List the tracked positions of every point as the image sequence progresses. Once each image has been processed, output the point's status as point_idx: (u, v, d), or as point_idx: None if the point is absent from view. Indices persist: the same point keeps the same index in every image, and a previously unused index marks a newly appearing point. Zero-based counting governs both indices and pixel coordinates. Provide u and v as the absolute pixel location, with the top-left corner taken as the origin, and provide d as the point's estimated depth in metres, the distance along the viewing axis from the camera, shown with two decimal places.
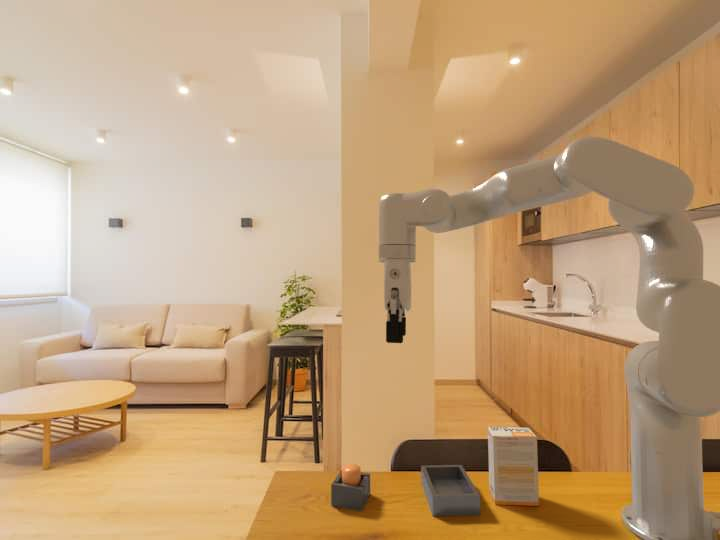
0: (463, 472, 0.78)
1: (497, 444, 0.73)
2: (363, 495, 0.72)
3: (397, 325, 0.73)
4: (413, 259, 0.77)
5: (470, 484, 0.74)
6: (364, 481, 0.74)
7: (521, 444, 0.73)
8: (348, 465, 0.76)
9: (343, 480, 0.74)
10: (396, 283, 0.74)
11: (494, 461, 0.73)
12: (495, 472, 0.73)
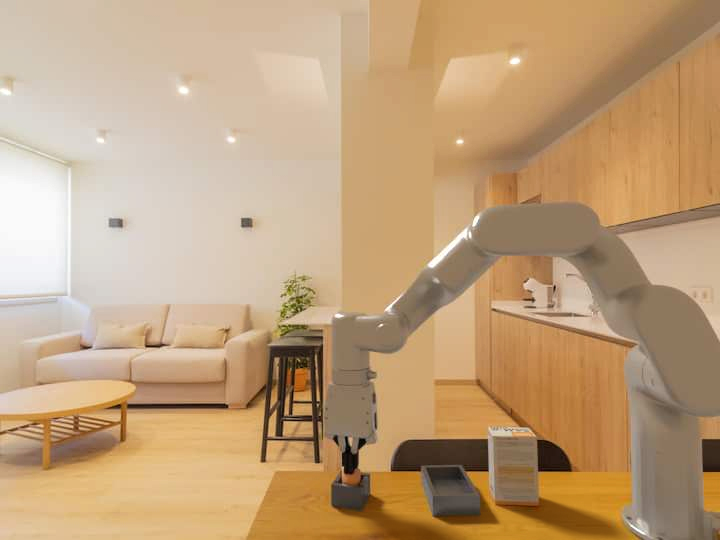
0: (463, 472, 0.78)
1: (497, 444, 0.73)
2: (363, 495, 0.72)
3: (358, 452, 0.75)
4: None
5: (470, 484, 0.74)
6: (364, 481, 0.74)
7: (521, 444, 0.73)
8: None
9: (343, 483, 0.74)
10: (375, 407, 0.74)
11: (494, 461, 0.73)
12: (495, 472, 0.73)
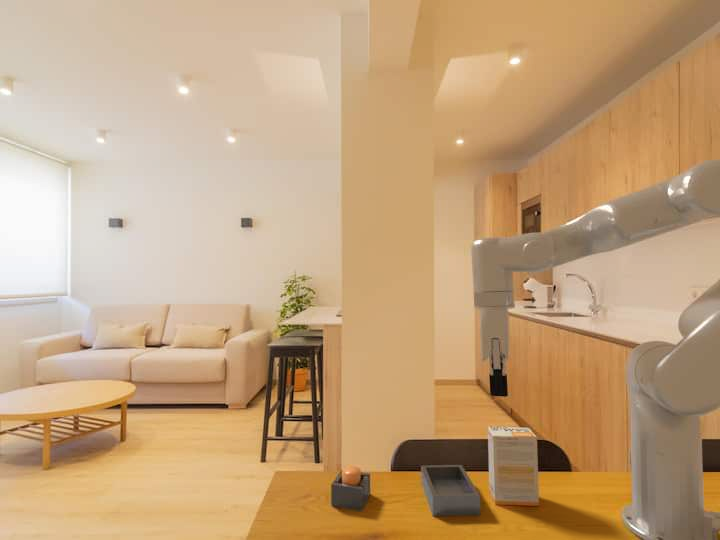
0: (463, 472, 0.78)
1: (497, 444, 0.73)
2: (363, 495, 0.72)
3: None
4: None
5: (470, 484, 0.74)
6: (364, 481, 0.74)
7: (521, 444, 0.73)
8: (348, 467, 0.76)
9: (343, 483, 0.74)
10: None
11: (494, 461, 0.73)
12: (495, 472, 0.73)
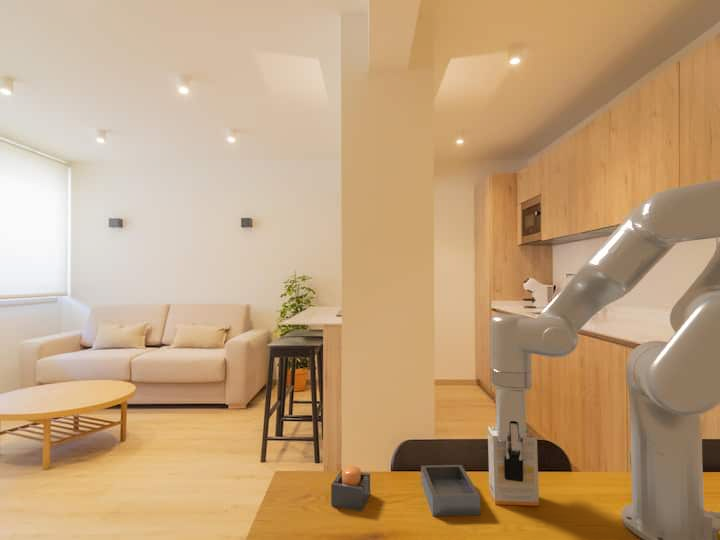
0: (463, 472, 0.78)
1: (497, 444, 0.73)
2: (363, 495, 0.72)
3: None
4: None
5: (470, 484, 0.74)
6: (364, 481, 0.74)
7: None
8: (348, 467, 0.76)
9: (343, 483, 0.74)
10: None
11: (494, 461, 0.73)
12: (495, 472, 0.73)
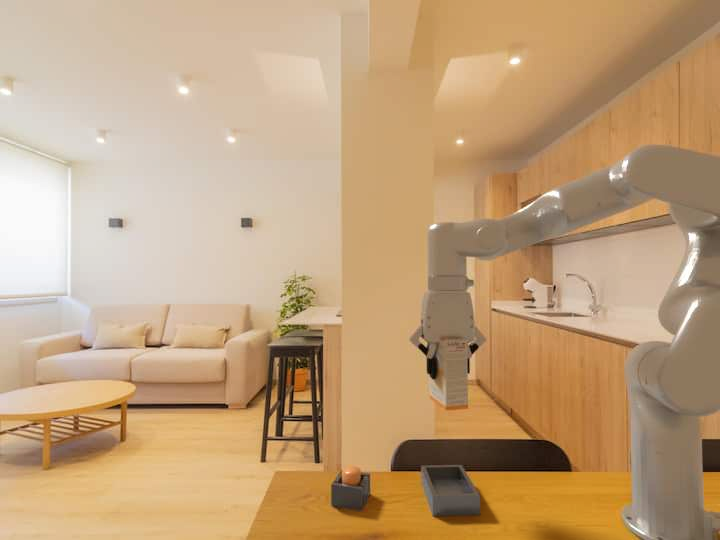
0: (463, 472, 0.78)
1: None
2: (363, 495, 0.72)
3: None
4: None
5: (470, 484, 0.74)
6: (364, 481, 0.74)
7: (438, 346, 0.75)
8: (348, 467, 0.76)
9: (343, 483, 0.74)
10: None
11: None
12: None
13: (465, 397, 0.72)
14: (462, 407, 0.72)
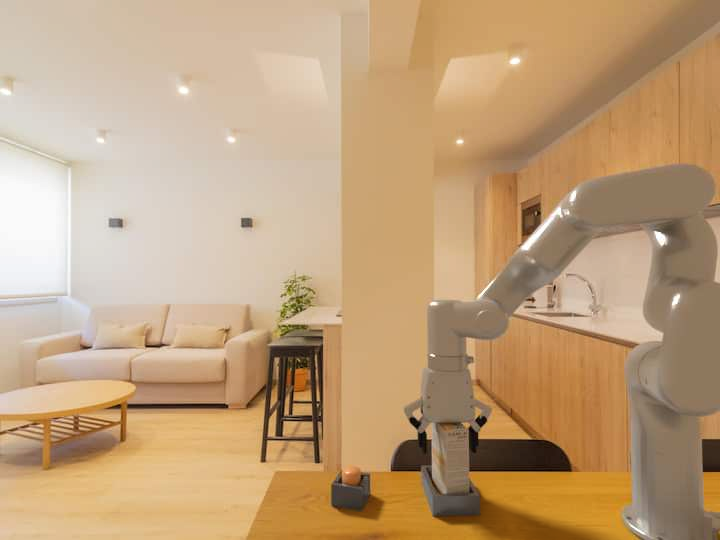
0: None
1: (432, 425, 0.79)
2: (363, 495, 0.72)
3: None
4: None
5: (470, 484, 0.74)
6: (364, 481, 0.74)
7: (440, 433, 0.74)
8: (348, 467, 0.76)
9: (343, 483, 0.74)
10: None
11: None
12: (432, 451, 0.79)
13: (466, 487, 0.72)
14: None
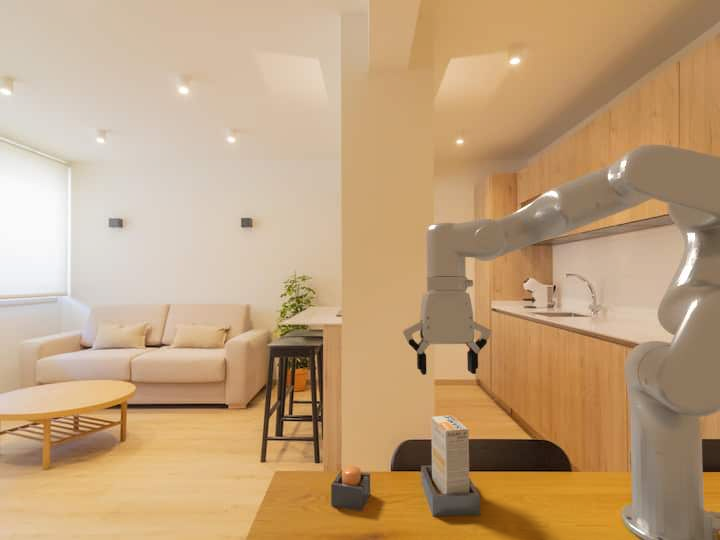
0: None
1: (432, 425, 0.79)
2: (363, 495, 0.72)
3: None
4: None
5: (470, 484, 0.74)
6: (364, 481, 0.74)
7: (440, 433, 0.74)
8: (348, 467, 0.76)
9: (343, 483, 0.74)
10: None
11: None
12: (432, 451, 0.79)
13: (466, 487, 0.72)
14: None
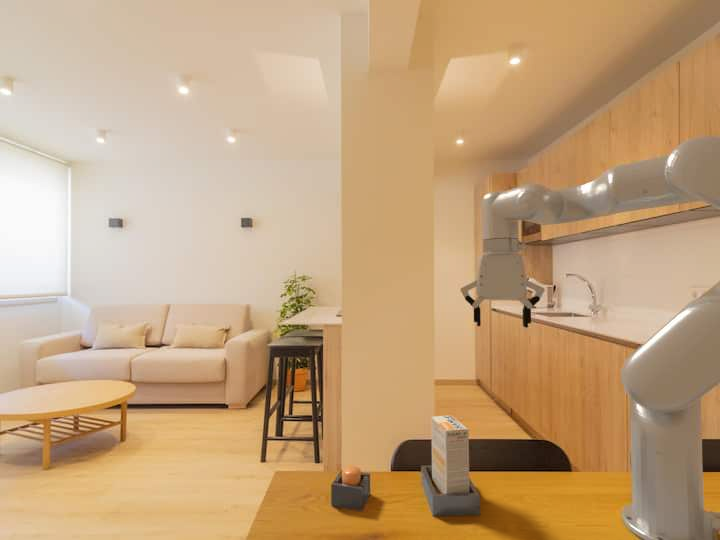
0: None
1: (432, 425, 0.79)
2: (363, 495, 0.72)
3: None
4: None
5: (470, 484, 0.74)
6: (364, 481, 0.74)
7: (440, 433, 0.74)
8: (348, 467, 0.76)
9: (343, 483, 0.74)
10: None
11: None
12: None
13: (466, 487, 0.72)
14: None
